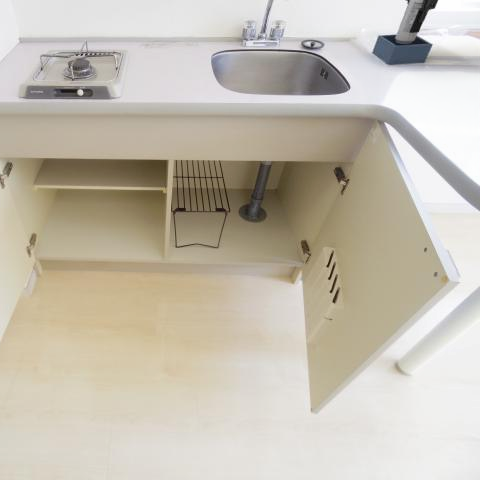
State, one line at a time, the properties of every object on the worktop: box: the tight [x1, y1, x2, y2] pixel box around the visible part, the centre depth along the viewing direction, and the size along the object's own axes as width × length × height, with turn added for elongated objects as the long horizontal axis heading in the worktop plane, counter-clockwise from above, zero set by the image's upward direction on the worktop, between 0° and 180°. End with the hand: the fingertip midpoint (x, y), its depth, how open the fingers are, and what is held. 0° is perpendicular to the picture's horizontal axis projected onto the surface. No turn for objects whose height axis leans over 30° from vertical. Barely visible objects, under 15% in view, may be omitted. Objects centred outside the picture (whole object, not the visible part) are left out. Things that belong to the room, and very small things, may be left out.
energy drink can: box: [395, 0, 423, 44], centre depth 116 cm, size 6×6×15 cm
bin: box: [372, 33, 434, 65], centre depth 123 cm, size 13×13×6 cm
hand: (408, 29), depth 119 cm, fingers closed on energy drink can, 6 cm apart
